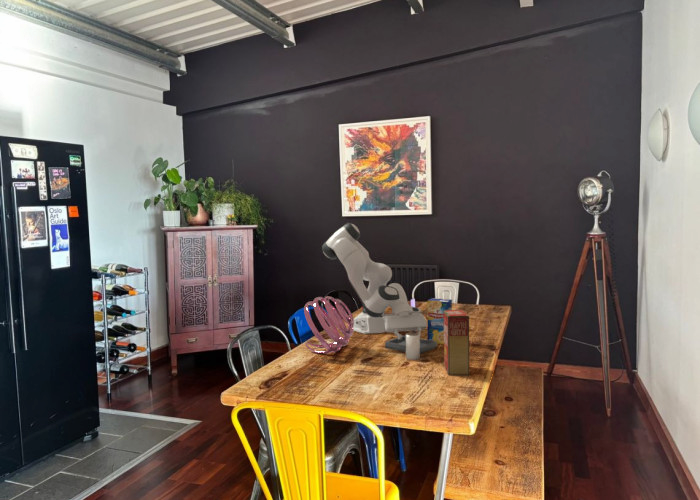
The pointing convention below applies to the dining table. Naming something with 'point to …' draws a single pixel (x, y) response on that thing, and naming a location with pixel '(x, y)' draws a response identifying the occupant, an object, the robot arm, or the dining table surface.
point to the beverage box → (436, 318)
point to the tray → (401, 344)
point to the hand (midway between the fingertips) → (409, 337)
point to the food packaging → (456, 342)
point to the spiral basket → (330, 323)
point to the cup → (412, 346)
